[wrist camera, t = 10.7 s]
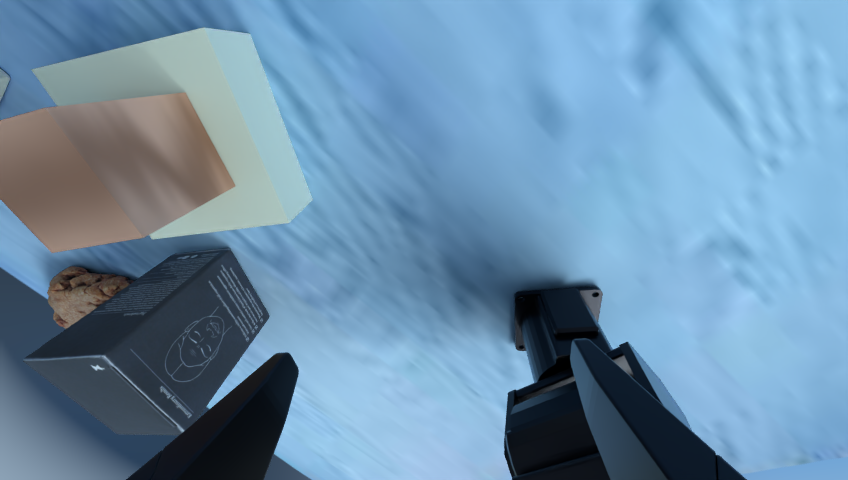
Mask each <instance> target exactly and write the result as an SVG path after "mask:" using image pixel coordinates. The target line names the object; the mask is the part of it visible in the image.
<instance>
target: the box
mask: <svg viewBox="0 0 848 480" xmlns="http://www.w3.org/2000/svg"><path fill="white" fill-rule="evenodd" d="M268 318H269V314H268V312H267V311H266V309H265V308H264V306H263V304H262V302H261V301H260V299H259V297H258V296H257V294H256V292H255V291H254V289H253V287H252V286H251V284H250V282H249V280H248V279H247V277H246V275H245V274H244V272H243V270H242V269H241V267H240V265H239V264H238V262H237V260H236V258H235V257H234V255H233V253H232V251H231V250H230V249H229V248H228V249H216V250H207V251H198V252H189V253H180V254H174V255H172V256H170V257H168V258H167V259H166V260H164V261H163V262H161V263H160V264H159V265H157V266H156V267H154V268H153V269H151V270H150V271H148V272H147V273H146V274H144V275H143V276H141V277H140V278H138V279H137V280H135V281H134V282H133V283H131V284H130V285H128V286H127V287H126V288H124V289H123V290H121V291H120V292H118V293H117V294H116V295H114V296H113V297H112V298H110V299H109V300H107V301H106V302H104V303H103V304H101V305H100V306H98V307H97V308H96V309H94V310H93V311H91V312H90V313H89V314H87V315H86V316H84V317H83V318H81V319H80V320H78V321H77V322H76V323H74V324H72V325H71V326H70V327H68V328H67V329H66V330H64V331H63V332H61V333H60V334H59V335H57V336H56V337H54V338H53V339H51V340H50V341H48V342H47V343H45V344H44V345H43V346H41V347H40V348H39V349H38V350H36V351H35V352H33V353H32V354H30V355H28V356H27V357H26V358H24V360H23V362H25V363H26V364H27V365H29V366H30V367H31V368H32V369H34V370H35V371H37V372H38V373H39V374H40V375H42V376H43V377H44V378H46V379H47V380H48V381H49V382H50V383H52V384H53V385H54V386H56V387H57V388H58V389H60V390H61V391H62V392H64V393H65V394H66V395H67V396H69V397H70V398H71V399H72V400H73V401H75V402H76V403H77V404H79V405H80V406H81V407H83V408H84V409H85V410H87V411H88V412H89V413H90V414H91V415H93V416H94V417H96V418H97V419H98V420H99V421H101V422H102V423H103V424H105V425H106V426H107V427H108V428H110V429H111V430H112V431H114V432H115V433H116V434H133V435H134V434H138V435H180V434H181V433H182V432H184V431H185V430H186V429H187V428H188V427H190V426H191V425H192V424H193V423H194V422H195V421H196V420H197V419H198V417H199V416H200V415H201V413H202V412H203V410H204V409H205V408H206V406H207V405H208V403H209V402H210V400H211V399H212V397H213V396H214V395H215V393H216V392H217V390H218V389H219V388H220V386H221V385H222V383H223V382H224V380H225V379H226V378H227V376H228V375H229V373H230V372H231V371H232V369H233V368H234V367H235V365H236V364H237V362H238V361H239V360H240V358H241V357H242V355H243V354H244V352H245V351H246V349H247V348H248V347H249V345H250V344H251V342H252V341H253V340H254V338H255V337H256V335H257V334H258V333H259V331H260V330H261V328H262V327H263V326H264V324H265V323H266V321H267V320H268Z"/></svg>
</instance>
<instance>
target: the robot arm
mask: <svg viewBox="0 0 848 480" xmlns="http://www.w3.org/2000/svg"><path fill="white" fill-rule="evenodd" d="M594 292H596V293H595V294H593V293H594ZM602 295H603V294H602V291H601V290H600V288H599V287H597V286H592V287H577V288H563V289H549V290H535V291H521V292H517V293H516V294H515V295H514V326H515V347H516V349H517V350H519V351H526V352H527V356H528V360H529V363H530V367H531V371H532V375H533V379H534V383H533V384H531V385H528V386H526V387H524V388H521V389H519V390H513V391H511V392H508V401H507V413H506V426H505V438H504V448H505V451H504V455H505V458H506V460H507V464H508V467H509V470H510V473H511V476H512V480H747V479H745V478H744V477H743V476H742V475H741V474H740V473H739V472H737V471H736V470H735V469H734V468H733V467H732V466H731V465H730V464H728V463H727V462H726V461H725V460H724V459H723V458H722V457H721V456H719V455H716V453H715V451H714V450H713V449H711V448H710V447H709V446H708V445H707V444H706V443H705V442H704V441H702V440H701V439H700V438H699V437H698V436H697V435H696V434H695V433H693V432H692V430H691V428H690V425H689V423H688V421H687V419H686V417H685V415H684V414H683V412H682V411H681V409H680V408H679V406H678V405H677V403H676V402H675V401H674V399H673V398H672V396H671V395H670V393H669V392H668V390H667V389H666V387H665V386H664V384H663V383H662V382H661V380H660V379H659V378H658V377H657V375H656V374H655V373H654V372H653V371H652V369H651V368H650V367H649V366H648V365H647V364H646V362H645V361H644V360H643V359H642V358H641V357H640V355H639V354H638V353H637V352H636V351H635V349H634V348H633V347H632V346H631V345H630V344H629V342H626V343H623V344H621V345H619V346H620V347H618V348H616V349H612V347H611V345H610V343H609V342H608V340H607V338H606V336H605V334H604V333H603V331H602V329H601V327H600V326H599V324H598V319H599V313H600V307H601V301H602ZM520 297H523V298H522V299H519V298H520ZM298 373H299V371H298V367H297V365H296V363H295V361H294V360H293V358H292V356H291V355H290V354H289V353H287V352H286V353H277V354H275V355H273V356H272V357H271V358H270V359H269V360H268V361H266V362H265V363H264V364H263V365H262V366H260V367H259V368H258V369H257V370H256V371H255V372H253V373H252V374H251V375H250V376H249V377H247V378H246V379H245V380H244V381H243V382H242V383H240V384H239V385H238V386H237V387H236V388H234V389H233V390H232V391H231V392H230V393H229V394H227V395H226V396H225V397H224V398H223V399H221V400H220V401H219V402H218V403H217V404H216V405H214V406H213V407H212V408H211V409H210V410H208V411H207V412H206V413H205V414H204V415H203V416H201V417H200V418H199V419H198V420H197V421H195V422H194V423H193V424H192V425H191V426H190V427H188V428H187V429H186V430H185V431H184V432H182V433H181V434H180V435H179V436H178V437H177V438H175V439H174V440H173V441H172V442H171V443H170V444H168V445H167V446H166V447H165V448H164V449H163V451H160V452H159V453H158V454H156V455H155V456H154V457H153V458H152V459H150V460H149V461H148V462H147V463H146V464H145V465H143V466H142V467H141V468H140V469H139V470H137V471H136V472H135V473H134V474H132V475H131V476H130V477H129V478H128V479H126V480H264V478H265V475H266V473H267V470H268V467H269V465H270V462H271V459H272V456H273V454H274V451H275V449H276V446H277V443H278V441H279V438H280V435H281V433H282V430H283V427H284V424H285V421H286V418H287V415H288V411H289V407H290V404H291V400H292V396H293V393H294V389H295V385H296V382H297V378H298Z"/></svg>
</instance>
